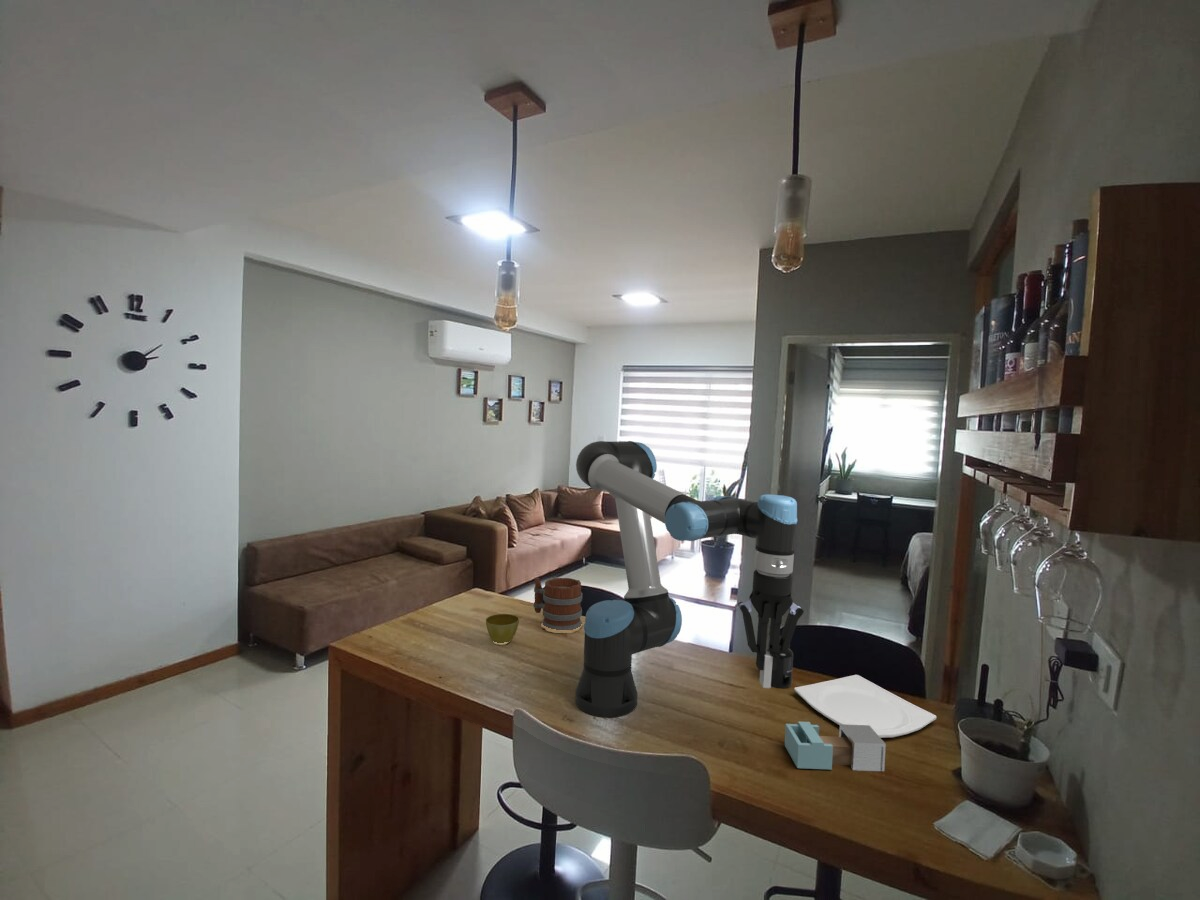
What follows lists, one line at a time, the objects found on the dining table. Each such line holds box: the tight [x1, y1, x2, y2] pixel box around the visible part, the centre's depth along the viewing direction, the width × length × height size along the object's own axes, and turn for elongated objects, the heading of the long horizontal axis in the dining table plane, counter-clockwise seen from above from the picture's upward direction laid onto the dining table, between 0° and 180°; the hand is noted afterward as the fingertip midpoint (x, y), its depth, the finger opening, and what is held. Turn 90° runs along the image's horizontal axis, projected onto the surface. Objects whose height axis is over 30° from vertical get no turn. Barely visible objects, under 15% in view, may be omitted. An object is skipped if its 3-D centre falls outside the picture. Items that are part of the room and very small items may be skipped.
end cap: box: [838, 724, 887, 772], centre depth 109 cm, size 6×7×6 cm
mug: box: [533, 577, 583, 630], centre depth 178 cm, size 14×19×15 cm
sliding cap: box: [784, 721, 833, 770], centre depth 109 cm, size 7×8×5 cm
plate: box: [793, 674, 938, 739], centre depth 129 cm, size 24×24×3 cm
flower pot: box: [485, 613, 520, 643], centre depth 163 cm, size 10×10×7 cm
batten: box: [807, 735, 852, 766], centre depth 109 cm, size 12×4×4 cm, turn 89°
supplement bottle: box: [766, 635, 794, 689], centre depth 142 cm, size 7×7×12 cm
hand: (764, 684), depth 109 cm, fingers closed
